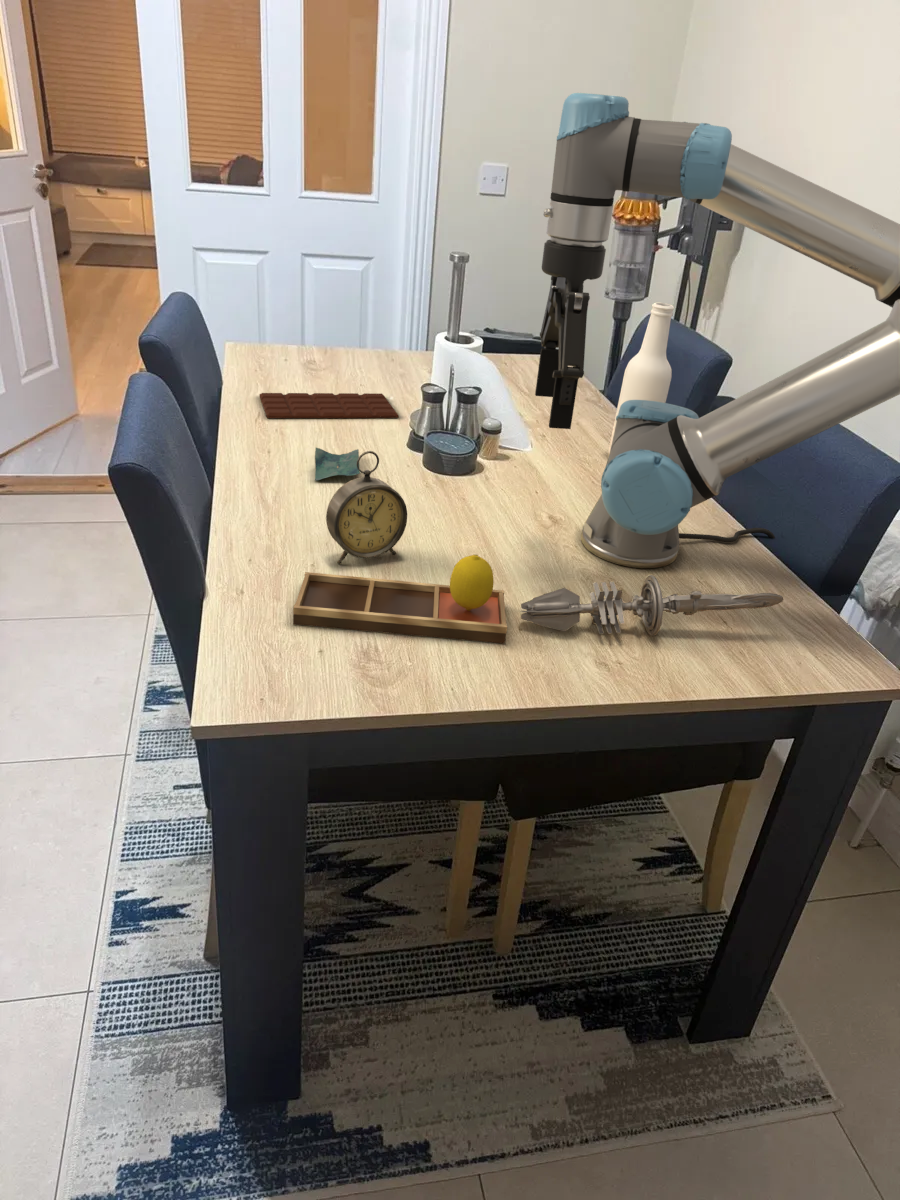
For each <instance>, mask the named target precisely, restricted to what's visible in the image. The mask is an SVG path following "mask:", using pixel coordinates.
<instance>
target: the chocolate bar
mask: <svg viewBox="0 0 900 1200" xmlns="http://www.w3.org/2000/svg"><path fill="white" fill-rule="evenodd" d="M259 399H260V402H261V406H262V408H263V410H264V411H263V412H264V414H265V416H266V418H267V419H386V418H387V419H398V418H399V414H398V412H397V411H396V410H395V408H394V407H393V406H392V404H391V403H390V401H388V399H387V398H386V396H385V395H384V393H367V392H366V393H362V394H359V393H356V392H355V393H350V392H349V393H348V392H347V393H346V392H344V393H343V392H341V393H337V394H334V393H332V392H314V393H312V394H309V393H308V392H287V393H286V394H284V393H282V392H261V393H259Z"/></svg>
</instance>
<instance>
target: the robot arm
mask: <svg viewBox="0 0 900 1200" xmlns="http://www.w3.org/2000/svg"><path fill="white" fill-rule="evenodd" d="M629 105H630V104H629V100H628V99H627V98H626V97H625V96H620V95H619V96H618V95H608V94H599V93H587V92H586V93H585V92H573V93H571V94H569V95H568V96H567V97H566V98H565V99H564V102H563V104H562V110H561V115H560V122H559V127H558V134H557V136H556V146H555V154H554V163H553V171H552V180H551V181H552V182H551V192H550V197H549V198H550V201H549V206H550V208H549V207H548V208H544V210H543V216H544V217H545V218H548V219H547V222H546V235H547V236H548V237H550V239H547V240H546V241H545V242H544V245H543V252H542V260H541V261H542V262H541V270H542V272H543V273H544V274H546V275H548V276H551V277H550V287H549V292H548V297H547V302H546V306H545V311H544V315H543V319H542V324H541V329H540V332H539V338H540V344H541V348H540V355H539V360H538V361H539V362H538V369H537V378H536V384H535V393H534V395H535V397H546V398H552V401H551V407H550V414H549V421H548V428H549V429H562V430H571V428H572V421H573V415H574V410H575V409H574V408H575V404H576V403H575V402H576V395H577V389H578V383H579V379H582V378H583V377H584V375H585V371H584V368H585V352H586V338H587V337H586V335H587V319H588V308H589V302H590V299H591V297H590V293H589V292H584V284H585V282H586V281H587V280H590V281H593V280H598V279H600V278H601V277H602V275H603V270H604V264H605V259H606V253H607V252H606V251H607V249H606V248H605V245H603V243H604V242H607V241H608V240H609V236H610V235H609V234H610V229H611V223H612V217H613V211H614V199H615V194H616V191H622V192H627V193H629V192H631V193H639V194H640V193H641V194H647V195H648V194H649V195H655V196H664V197H674V198H683V199H685V200H687V201H690V202H692V203H696V204H698V205H699V206H701V207H704V208H706V209H708V210H710V211H712V212H713V213H716V214H718V215H720V216H723V217H725V218H726V219H728V220H730V221H733V222H735V223H737V224H739V225H741V226H743V227H745V228H747V229H749V230H751V231H754V232H756V233H758V234H760V235H762V236H764V237H766V238H768V239H770V240H772V241H774V242H776V243H778V244H781V245H782V246H784V247H786V248H788V249H791V250H792V251H795V252H797V253H799V254H800V255H803V256H805V257H807V258H809V259H812V260H814V261H816V262H817V263H820V264H822V265H824V266H826V267H828V268H830V269H832V270H834V271H836V272H838V273H840V274H842V275H844V276H847V277H849V278H851V279H852V280H855V281H857V282H859V283H861V284H863V285H865V286H867V287H869V288H872V289H873V292H874V297H875V299H876V301H878V302H879V303H883V304H884V305H887V306H889V307H890V308H891V311H890V313H889V315H888V317H887V318H886V319H885V320H884V321H882V322H880V323H878V324H877V325H874V326H873V327H870V328H869V329H867V330H865V331H863V332H861V333H859V334H857V335H856V336H854V337H851V338H850V339H848V340H846V341H844V342H842V343H840V344H838V345H837V346H834V347H833V348H831V349H829V350H827V351H825V352H823V353H821V354H819V355H817V356H815V357H814V358H811V359H809V360H808V361H806V362H804V363H802V364H800V365H798V366H796V367H793V369H790V370H788V371H787V372H785V373H783V374H781V375H778V376H777V377H775V378H773V379H771V380H769V381H768V382H766V383H764V384H762V385H760V386H758V387H756V388H754V389H752V390H750V391H749V392H747V393H744V394H743V395H741V396H739V397H737V398H735V399H733V400H731V401H729V402H728V403H726V404H725V403H724V405H722V406H720V407H718V408H716V409H714V410H713V411H709V413H706V414H705V415H702V416H701V417H699V414H698V413H696V412H695V411H694V410H692V409H690V408H687V407H684V406H680V405H677V404H672V403H668V402H666V403H662V402H656V401H648V400H628V401H625V402H624V403H623V404H622V405H621V406H620V410H619V413H618V416H616V415H615V417H616V421H617V422H616V427H615V432H614V437H613V441H612V446H611V450H610V454H609V453H608V457H607V460H606V464H605V468H604V469H603V472H602V475H601V478H600V479H601V480H600V489H601V494H600V496H599V498H598V499H597V502H596V503H595V505H594V506H593V507H592V510H591V511H590V513H589V515H588V516H587V519H586V520H585V521H584V524H583V527H582V531H581V535H580V537H581V538H580V539H581V540H580V541H581V542H582V545H583V546H584V547H585V548H586V549H587V550H588V551H589V552H590V553H592V554H593V555H595V556H596V557H598V558H600V559H602V560H605V561H607V562H609V563H613V564H616V565H618V566H619V565H620V566H623V567H628V568H636V569H657V568H662V567H666V566H668V565H670V564H672V563H673V562H675V560H676V559H677V557H678V554H679V551H680V540H681V539H683V540H685V539H686V540H705V541H715V542H720V543H728V544H730V543H734V542H737V541H738V540H739V538H740V537H741V536H745V535H751V534H764V535H766V536H767V537H768V538H769V539H776V536H775V534H774V533H773V532H772V531H770V530H769V529H767V528H765V527H750V528H746V529H740V530H738V531H736V532H734V534H733V536H731V537H727V536H721V535H714V534H703V533H684V532H683V533H682V532H679V525H680V524H681V523H682V522H683V521H684V520H685V518H686V517H687V516H688V514H689V513H690V511H691V508H694V507H695V506H698V505H700V504H702V503H704V502H706V501H708V500H710V499H712V498H714V497H716V496H718V495H720V493H721V491H722V488H723V485H724V483H725V481H726V480H727V478H729V477H732V476H733V475H735V474H737V473H740V472H742V471H744V470H746V469H748V468H750V467H752V466H754V465H756V464H759V463H761V462H762V461H764V460H767V459H769V458H771V457H773V456H775V455H777V454H779V453H781V452H784V451H785V450H787V449H789V448H791V447H794V446H796V445H797V444H800V443H802V442H804V441H806V440H808V439H810V438H812V437H814V436H816V435H818V434H821V433H822V432H824V431H827V430H828V429H831V428H833V427H835V426H837V425H840V424H841V423H843V422H845V421H847V420H850V419H853V418H854V417H855V416H858V415H860V414H862V413H864V412H866V411H868V410H871V409H872V408H875V407H877V406H879V405H881V404H883V403H885V402H887V401H889V400H891V399H894V398H895V397H897V396H899V395H900V223H899V222H896V221H894V220H892V219H890V218H888V217H886V216H884V215H882V214H879V213H877V212H876V211H873V210H871V209H869V208H867V207H865V206H863V205H861V204H859V203H856V202H854V201H852V200H850V199H848V198H845V197H844V196H842V195H839V194H837V193H835V192H833V191H831V190H829V189H827V188H825V187H823V186H820V185H819V184H817V183H815V182H812V181H810V180H808V179H806V178H804V177H802V176H799V175H797V174H795V173H793V172H791V171H789V170H787V169H785V168H782V167H781V166H779V165H776V164H774V163H773V162H771V161H768V160H766V159H764V158H762V157H759V156H758V155H756V154H753V153H751V152H749V151H747V150H745V149H743V148H740V146H737V145H734V144H732V138H733V134H732V131H731V129H730V128H728V127H727V126H719V125H713V124H710V123H707V122H700V123H699V122H688V121H672V120H671V121H670V120H658V119H657V120H655V119H642V118H638V117H635V116H630V111H629V107H630V106H629Z"/></svg>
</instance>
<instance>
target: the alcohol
mask: <svg viewBox="0 0 900 1200" xmlns="http://www.w3.org/2000/svg"><path fill="white" fill-rule="evenodd" d="M651 307H652V308H651V309H650V316H649V319H648V322H647V327H646V330H645V332H644V336H643V340H642V343H641V346H640V349H639V350H638V353H636V354H635V355H634V356H633V357H632V358H631V359H630V360H629V361H628V363H627V365H626V367H625V369H624V374H623V378H622V383H621V388H620V392H619V398H618V402H617V407H616V411H615V417H614V422H613V427H612V432H611V437H610V441H609V446H608V455H609V454H610V450H611V446H612V441H613V437H614V432H615V427H616V422H617V421H616V416H618V413H619V410H620V406H621V405H622V404H623V403H624V402H625V401H628V400H648V401H656V402H662V403H667V398H668V394H669V390H670V385H671V381H672V375H673V373H672V371H673V369H672V366H671V364H670V362H669V360H668V358H667V348H668V342H669V334H670V327H671V322H672V321H671V320H672V317H673V316H674V313H673V311H674V309H675V306H673V305H672V304H670V303H666V302H658V301H656V302H654V303H652V304H651Z"/></svg>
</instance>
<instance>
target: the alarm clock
mask: <svg viewBox="0 0 900 1200" xmlns="http://www.w3.org/2000/svg"><path fill="white" fill-rule="evenodd" d="M369 454H371V455H374V456H375V458H376V464H375V466H374V468H373V469H372V470H369V469H365V470H364V471H363V470H361V469H360V468H361V467H360V461H361V459H362V457H364V456H365V455H369ZM379 464H380V458H379V455H378V453H376V452H375V451H372V450H367V451H364V452H362V453H361V454H359V458H358V460H357V468H358V470H359V471H360V474H363V475H364V476H362V477H356V478H353V479H351V480H349V481H348V482H346V483H344V484H343V485H341V487H339V488H338V489H337V490H336V491H335V493H334V494H333V496H332V497H331V499H330V500H329V503H328V505H327V508H326V515H325V516H326V517H325V520H326V528H327V530H328V532H329V535H330V536H331V538H332V539H333V540H334V541H335V542H336V543H337V545H338V546H339V547H340V548H341V549H342V550H343V551H342V553H341V555H340V556H339V559H338V560H337V561H336V564H337V565H342V563H343V560H345V559H346V557H347V556H348V555H349V556H352V557H353V558H359V559H373V558H375V557H380V556H382V555H384V554H386V553H387V552H390V554H391V555H392V556H393V557H394V556H396V555H397V552H396V551H395V550H394V549H393V548H394V547H395V546H396V545H397V543H398V542H399V541H400V540H401V538H402V536H403V535H404V533H405V530H406V527H407V524H408V523H407V522H408V509H407V504H406V502H405V500H404V498H403V497H402V495H401V494H400V493H399V492H398V491H397V490H396V489H394V488H392V486H390V485H389V484H388V483H386V482H385V481H383V480H381V479H379V478H376V477H371V474H372V473H374V472H375V471H376V470H377V469H378V467H379Z"/></svg>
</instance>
